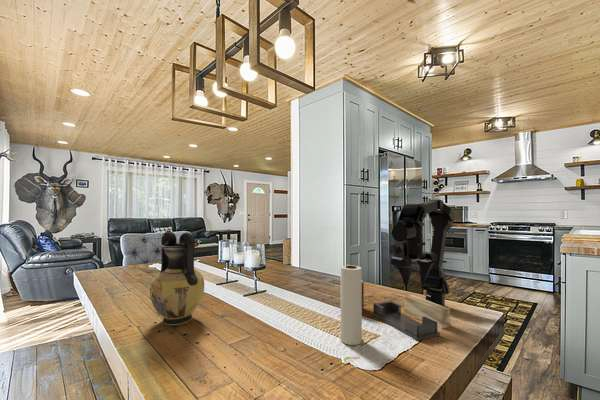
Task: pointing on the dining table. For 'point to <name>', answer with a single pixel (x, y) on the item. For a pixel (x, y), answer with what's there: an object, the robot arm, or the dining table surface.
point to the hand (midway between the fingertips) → (414, 283)
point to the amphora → (177, 280)
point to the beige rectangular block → (427, 310)
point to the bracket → (405, 321)
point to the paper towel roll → (351, 304)
